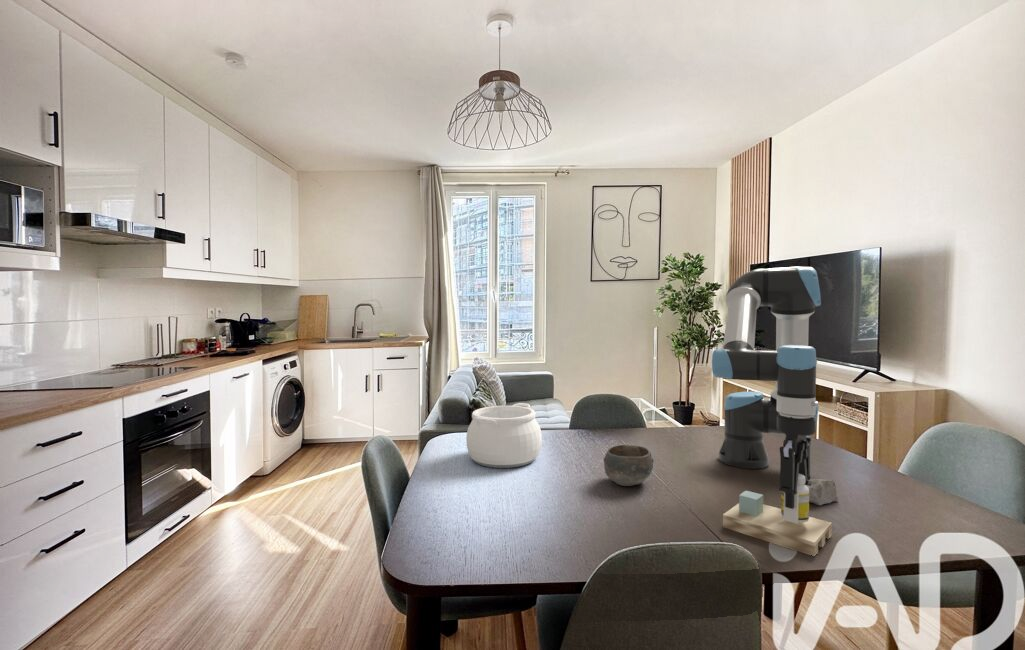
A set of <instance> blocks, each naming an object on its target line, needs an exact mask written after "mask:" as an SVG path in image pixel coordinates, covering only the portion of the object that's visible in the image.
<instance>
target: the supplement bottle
mask: <svg viewBox="0 0 1025 650" xmlns="http://www.w3.org/2000/svg"><path fill="white" fill-rule="evenodd" d="M804 484H805V476H804V475H802V474H799V473H798V483H797V493H798V523H804V522H807V521H808V520H809V517H810V502H809V488H808V487H807V486H806V485H804ZM780 494H781V495H780V496H781V497H780V500H781V501H780V509H781V515H782V517H783V518H784V492H783V491H780Z"/></svg>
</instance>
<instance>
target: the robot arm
mask: <svg viewBox="0 0 1025 650" xmlns="http://www.w3.org/2000/svg"><path fill="white" fill-rule="evenodd" d="M820 290H821V289H820V283H819V277H818V273H817V270H816V269H815V268H814V267H812V266H789V267H788V266H787V267H772V268H770V267H769V268H756V269H752V270H750V271H747V272H746V273H743V274H742V275H740V276H739V277H738V278H736V279H735V281H734V282H733V283H731V285H730V286H729V288H728V290H727V292H726V295H725V305H726V307H727V315H726V320H725V321H726V322H725V329H724V336H723V343H722V348H719V349H714V350H713V351H712V353H711V355H712V356H711V371H712V375H713V376H714V377H715V378H718V379H728V380H744V381H745V380H749V381H764V382H766V381H767V382H775V388H774V389H773V390H772V391H770V397H765V396H764V394H763V392H761V391H752V390H751V391H740V392H739V391H737V392H734V393H733V392H732V393H729V394H728V395H726V396H725V398H724V406H723V410H724V430H723V431H724V432H723V433H724V435H723V436H724V438H723V439H722V443H721V445H720V446H721V447H720V448H719V451H718V460H719V461H720V462H721V463H723V464H725V465H728V466H731V467H736V468H741V469H754V470H756V469H763V468H767V467H769V466H770V464H769V463H770V461H769V460H770V459H769V455H768V451H767V449H766V446H765V443H764V434H769V435H770V434H773V435H779V436H780V435H781V436H785V439H783V442H782V443H783V446H780V447H779V456H780V457H779V458H780V466H779V470H780V473H779V481H780V482H779V488H778V490H779V491H780V492H781V491H783V492H784V520H786V521H789V522H793V523H796V524H798V493H797V483H798V473H799V474H802V475H804V476H805V484H804V485H809V486H811V484H812V482H810V481H809V480H810V479H811V444H812V443H811V442H812V438H811V436H813V435H815V434H816V432H817V431H816V430H817V428H816V427H817V422H818V416H819V415H818V414H819V404H820V403H819V402H818V401H817V399H816V396H817V393H816V386H817V385H816V384H817V364H818V360H817V353H816V352H817V350H816V348H814V346H810V345H809V329H810V327H809V325H810V324H809V323H810V321H809V319H810V317H811V316H812V315H813V314H814V313H815V312H816V307H819V306H821V304H822V302H821V301H822V300H821V291H820ZM760 307H770V313H771V314H772V315H773V316H774V317H775V318H776V319H775V320H776V321H775V322H776V323H775V324H776V325H775V328H776V329H775V333H776V334H775V338H776V339H775V350H772V349H771V350H770V349H769V350H768V349H767V350H765V349H764V350H763V349H761V350H760V349H755V344H756V343H755V340H756V326H757V325H756V324H757V323H756V322H757V310H758V309H759V308H760Z"/></svg>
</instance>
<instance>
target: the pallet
mask: <svg viewBox="0 0 1025 650" xmlns="http://www.w3.org/2000/svg"><path fill="white" fill-rule="evenodd" d="M722 528H724V529H728V530H730V531H733V532H736V533H741V534H743V535H746V536H749V537H753V538H755V539H758V540H762V541H765V542H768V543H771V544H774V545H777V546H781V547H784V548H787V549H790V550H792V549H793V551H795V550H796V552H798V551H799V553H802V554H805V555H808V556H811V555H812V556H811V557H814V556H815V555H816V554H817V555H818V553H819V548H821V547H822V548H824V546H825V545H826V540H830V539H829V538H831V537H832V536H833V534H832V533H833V523H832V522H831V521H826V520H823V519H819V518H816V517H812V516H809V520H808V521H807V522H804V523H798V524H796V523H793V522H789V521H786V520H784V518H783V517H782V515H781V508H778V507H776V506H771V505H767V504H764V503H763V512H762V513H761V514H759V515H758V516H753V515H750V514H746V513H743V512H739V502H738V503H737V504H736V505H734V506H732V508H730V509H729V510H727V511H726V512H724V513H722ZM826 538H827V539H826ZM818 546H819V547H818ZM817 555H816V556H817ZM816 556H815V557H816Z"/></svg>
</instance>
